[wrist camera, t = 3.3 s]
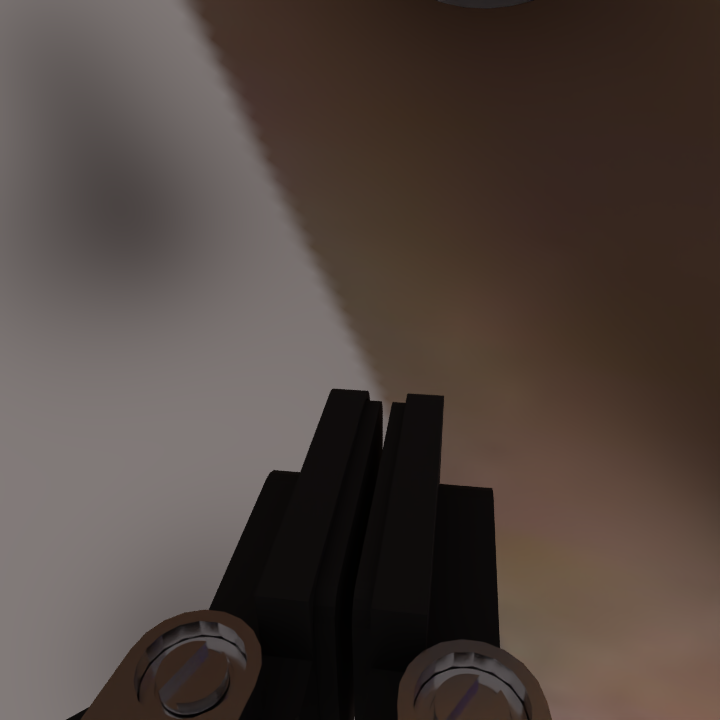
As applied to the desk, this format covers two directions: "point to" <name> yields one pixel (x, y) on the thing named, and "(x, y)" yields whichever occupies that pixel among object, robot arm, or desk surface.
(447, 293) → the desk surface
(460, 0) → the grey ball
